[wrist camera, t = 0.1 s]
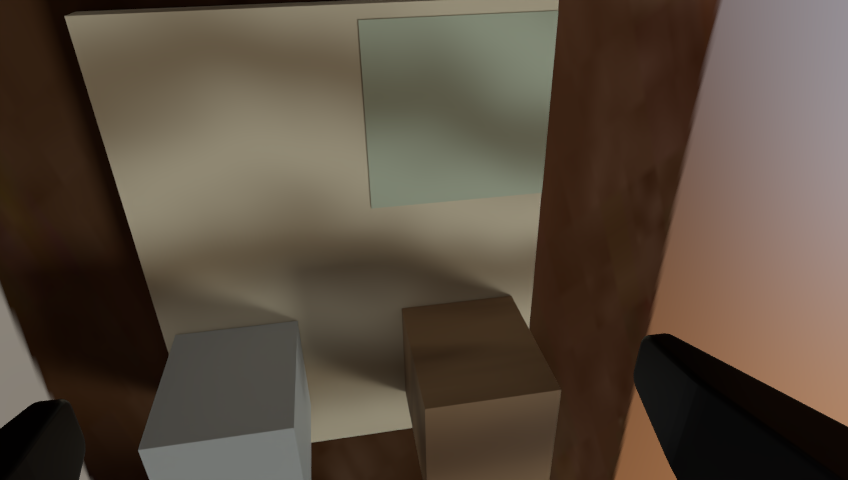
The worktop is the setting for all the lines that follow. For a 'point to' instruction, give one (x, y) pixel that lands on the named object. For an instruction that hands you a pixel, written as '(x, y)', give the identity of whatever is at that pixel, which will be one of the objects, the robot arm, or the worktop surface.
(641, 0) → the worktop surface
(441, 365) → the walnut block
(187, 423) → the grey block
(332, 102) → the board
